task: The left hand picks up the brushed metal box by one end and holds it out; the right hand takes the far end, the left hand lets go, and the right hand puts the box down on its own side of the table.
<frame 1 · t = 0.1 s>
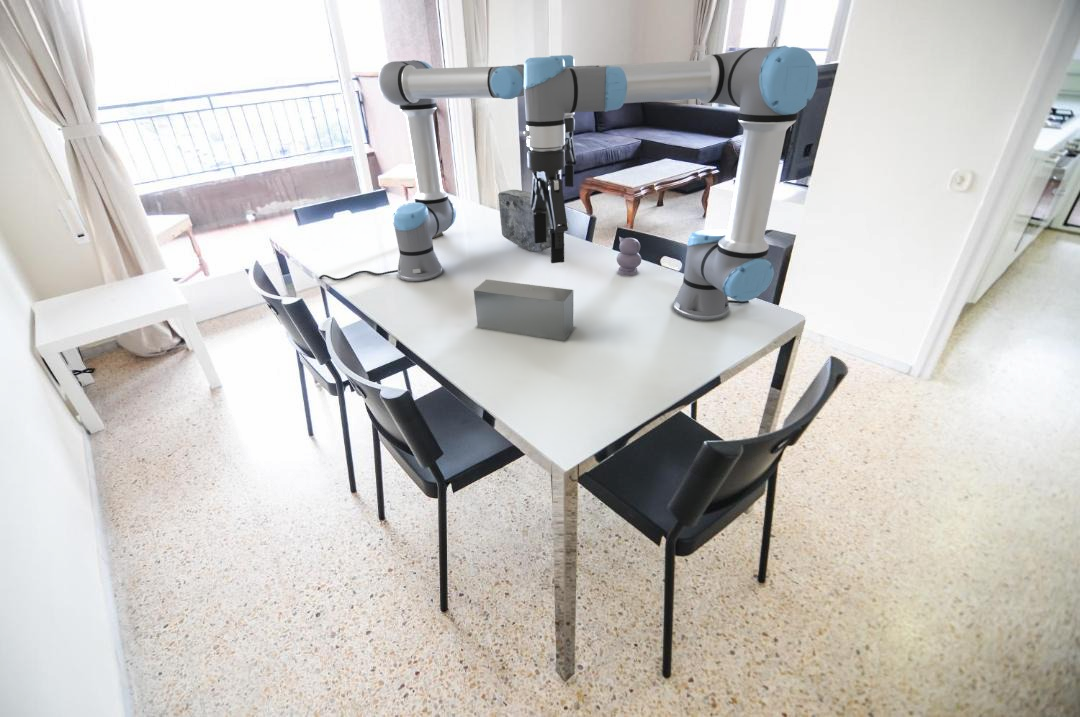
left hand: (562, 191, 156), 28 cm above the table, tool pointing down, fingers open, 13 cm apart
right hand: (548, 251, 109), 28 cm above the table, tool pointing down, fingers open, 13 cm apart
concrete block: (528, 247, 196), on the table
box: (525, 327, 139), on the table
cat figurine: (628, 272, 170), on the table
seal figurine: (429, 237, 212), on the table
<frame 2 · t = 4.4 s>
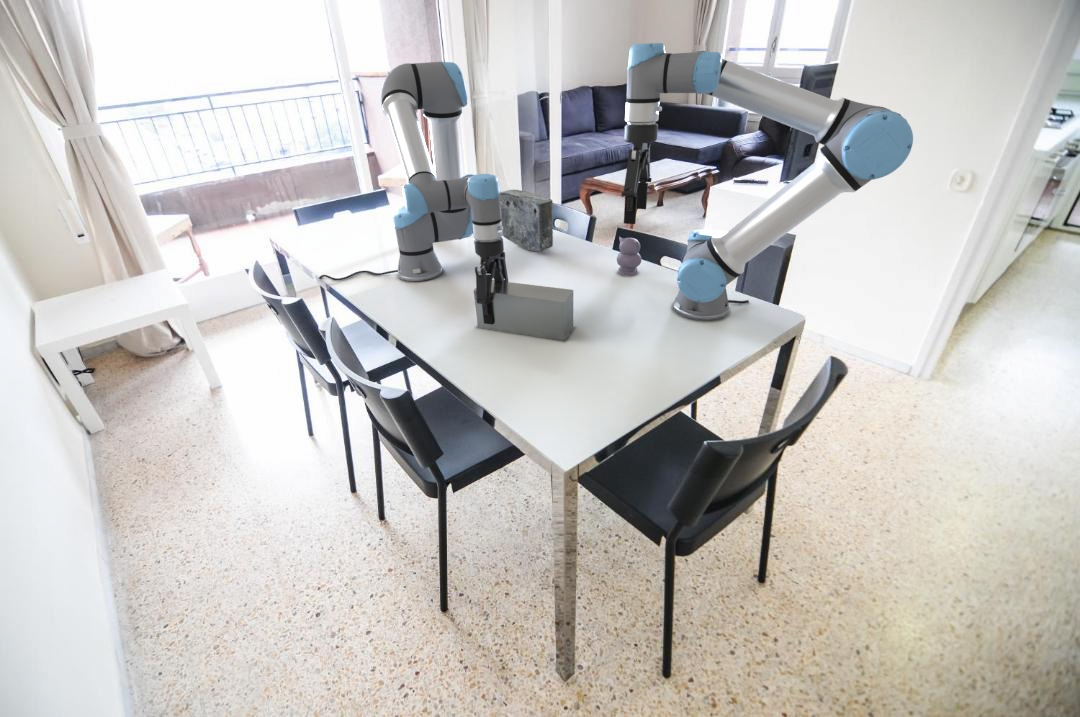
left hand: (495, 316, 141), 2 cm above the table, tool pointing down, fingers closed on box, 8 cm apart
right hand: (635, 215, 125), 30 cm above the table, tool pointing down, fingers open, 13 cm apart
box: (525, 327, 139), on the table, touching left hand
everything else where it was.
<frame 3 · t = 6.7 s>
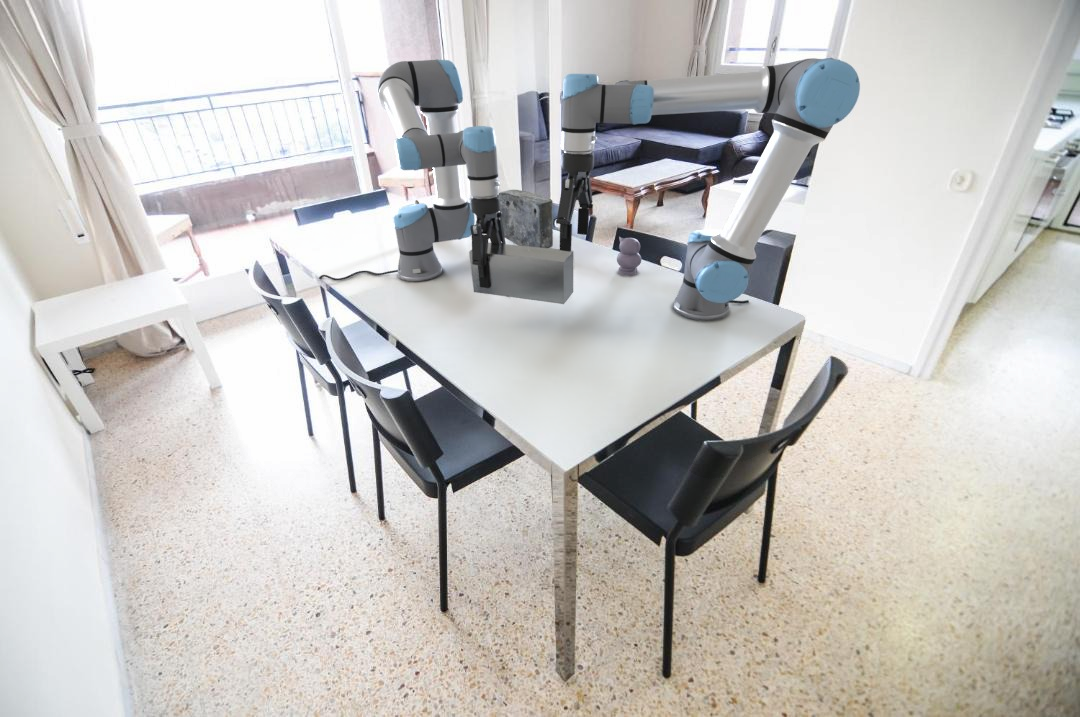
left hand: (492, 280, 135), 13 cm above the table, tool pointing down, fingers closed on box, 8 cm apart
right hand: (574, 242, 124), 25 cm above the table, tool pointing down, fingers open, 13 cm apart
box: (523, 292, 133), point 11 cm above the table, touching left hand
everything else where it was.
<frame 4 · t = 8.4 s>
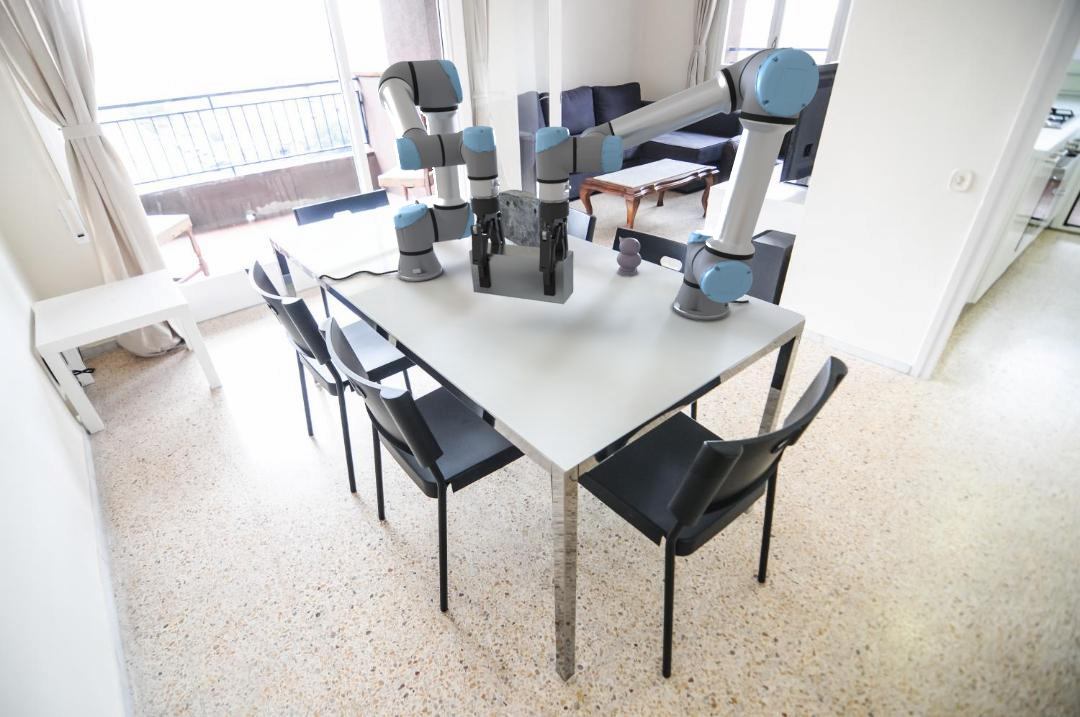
left hand: (492, 280, 135), 13 cm above the table, tool pointing down, fingers closed on box, 8 cm apart
right hand: (555, 288, 129), 13 cm above the table, tool pointing down, fingers closed on box, 8 cm apart
box: (523, 292, 133), point 11 cm above the table, touching left hand, right hand
everything else where it was.
when the left hand's fingers open (13 cm above the table, at t = 9.5 s): box stays where it is, held by the right hand.
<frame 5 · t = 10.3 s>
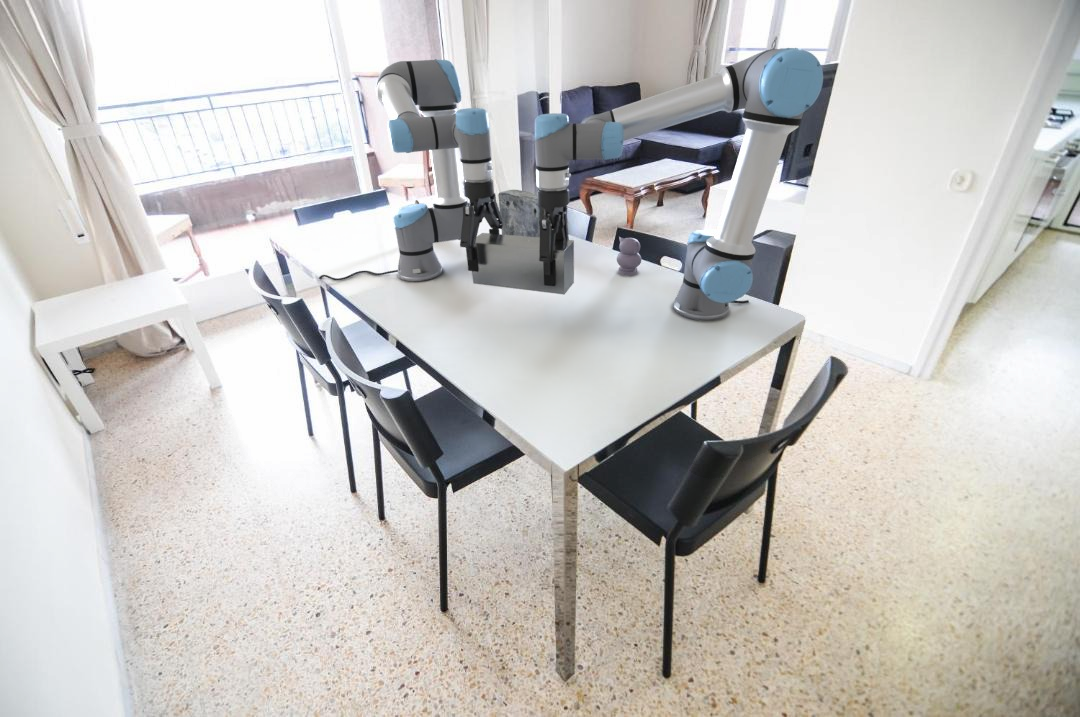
left hand: (485, 261, 133), 18 cm above the table, tool pointing down, fingers open, 13 cm apart
right hand: (555, 278, 128), 16 cm above the table, tool pointing down, fingers closed on box, 8 cm apart
box: (523, 283, 132), point 13 cm above the table, touching right hand
everything else where it was.
when the right hand's fingers open (3 cm above the table, at t = 13.0 s): box moves 1 cm, on the table.
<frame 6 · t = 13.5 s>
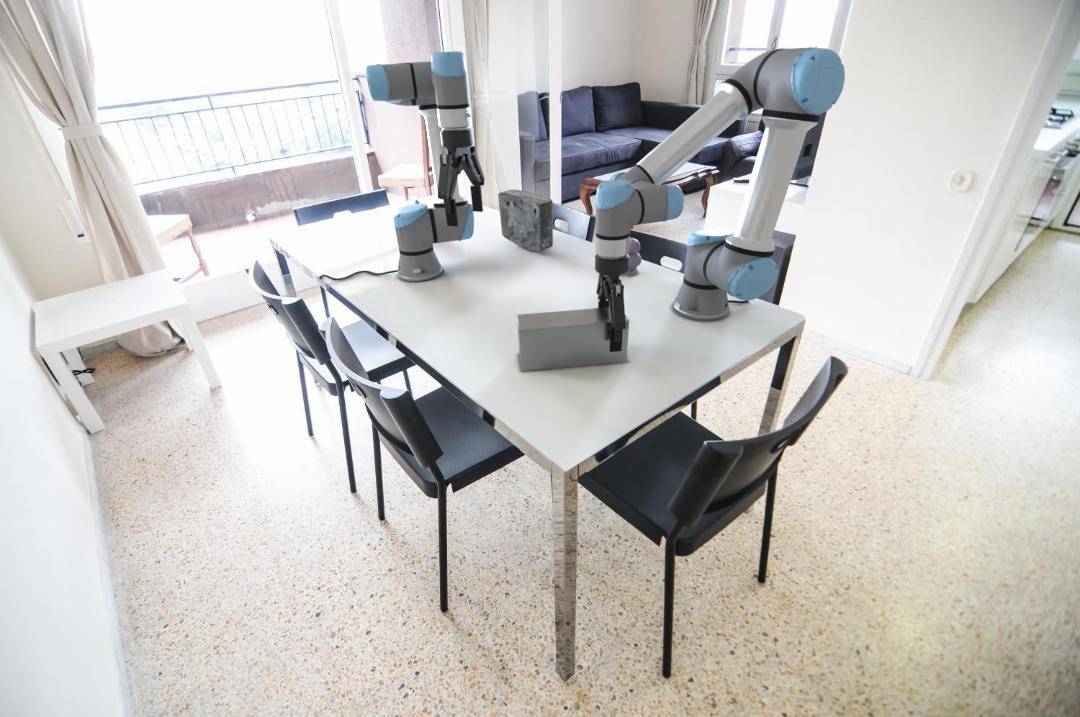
left hand: (465, 218, 128), 30 cm above the table, tool pointing down, fingers open, 13 cm apart
right hand: (609, 337, 122), 5 cm above the table, tool pointing down, fingers open, 13 cm apart
box: (571, 358, 124), on the table
everything else where it was.
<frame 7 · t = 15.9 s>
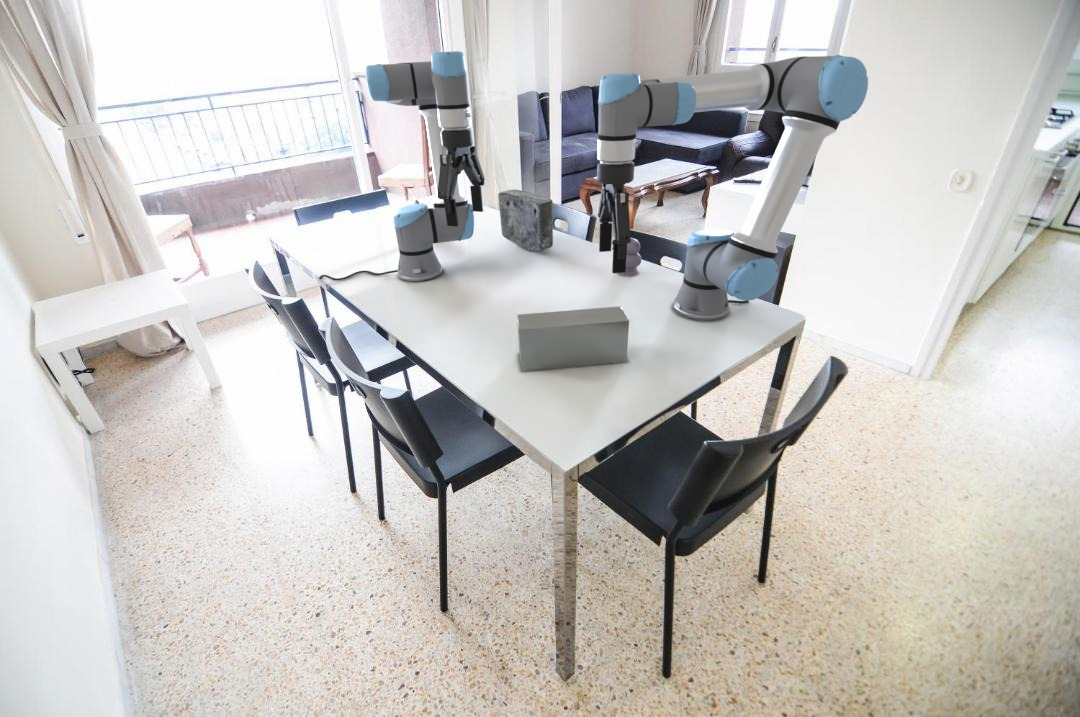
left hand: (465, 218, 128), 30 cm above the table, tool pointing down, fingers open, 13 cm apart
right hand: (611, 261, 112), 25 cm above the table, tool pointing down, fingers open, 13 cm apart
nothing on the table moved.
at the end: box inside the target area (9.0 cm from its centre), on the table; the left hand is holding nothing; the right hand is holding nothing; box at rest at the end (0.0 cm/s) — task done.
